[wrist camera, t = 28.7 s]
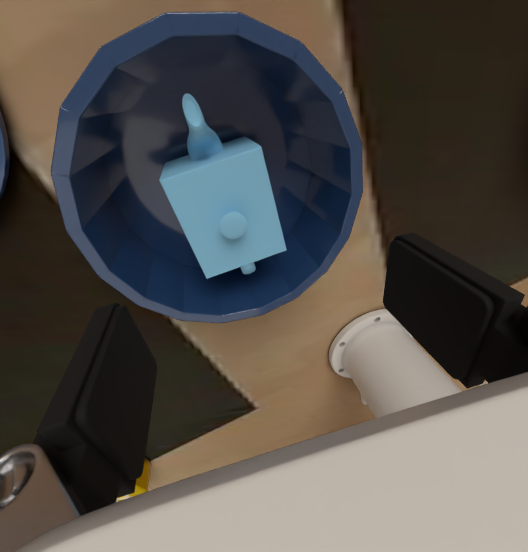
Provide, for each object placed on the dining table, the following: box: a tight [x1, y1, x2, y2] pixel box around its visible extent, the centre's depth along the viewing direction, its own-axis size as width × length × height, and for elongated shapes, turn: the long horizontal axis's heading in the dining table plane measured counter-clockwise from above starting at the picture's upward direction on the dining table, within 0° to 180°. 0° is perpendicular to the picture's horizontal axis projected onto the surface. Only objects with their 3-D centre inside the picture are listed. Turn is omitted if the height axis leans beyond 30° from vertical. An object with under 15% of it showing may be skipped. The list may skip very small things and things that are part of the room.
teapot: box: [159, 94, 287, 279], centre depth 19 cm, size 12×6×8 cm, turn 15°
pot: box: [51, 12, 363, 323], centre depth 20 cm, size 18×18×8 cm
